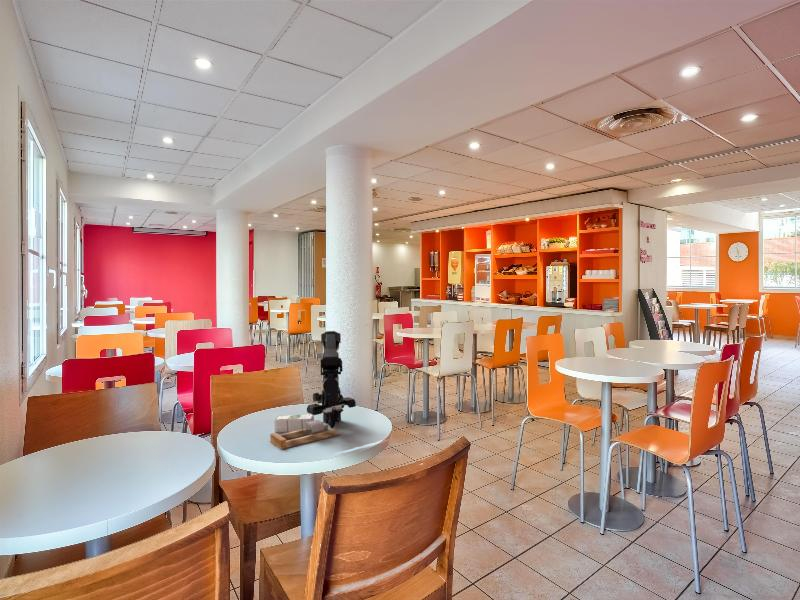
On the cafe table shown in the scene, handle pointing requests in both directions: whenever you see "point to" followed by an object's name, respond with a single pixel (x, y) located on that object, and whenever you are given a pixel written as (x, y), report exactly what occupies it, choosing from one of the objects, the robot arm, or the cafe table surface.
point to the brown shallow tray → (284, 443)
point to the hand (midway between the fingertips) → (332, 427)
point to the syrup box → (292, 422)
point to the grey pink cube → (314, 427)
